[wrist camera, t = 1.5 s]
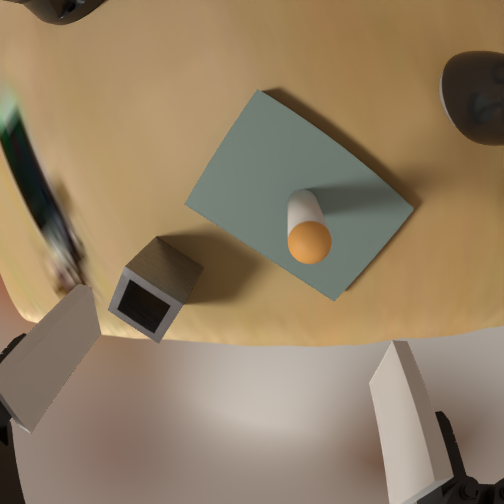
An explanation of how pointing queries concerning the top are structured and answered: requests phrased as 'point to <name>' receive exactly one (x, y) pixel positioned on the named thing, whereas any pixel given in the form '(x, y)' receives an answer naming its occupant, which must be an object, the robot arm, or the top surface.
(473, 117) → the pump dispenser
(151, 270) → the grey square sleeve
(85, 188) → the top surface
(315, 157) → the keeper
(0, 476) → the robot arm
